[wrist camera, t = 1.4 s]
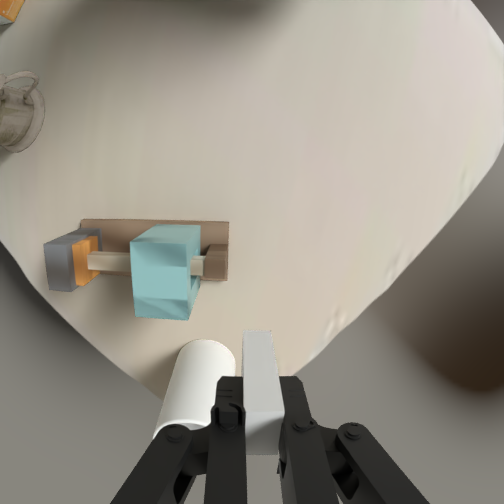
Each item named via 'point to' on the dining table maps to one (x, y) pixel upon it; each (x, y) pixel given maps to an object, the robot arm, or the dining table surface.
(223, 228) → the rail
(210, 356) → the cup
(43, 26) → the dining table surface
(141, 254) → the sleeve
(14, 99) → the mug
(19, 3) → the small box
